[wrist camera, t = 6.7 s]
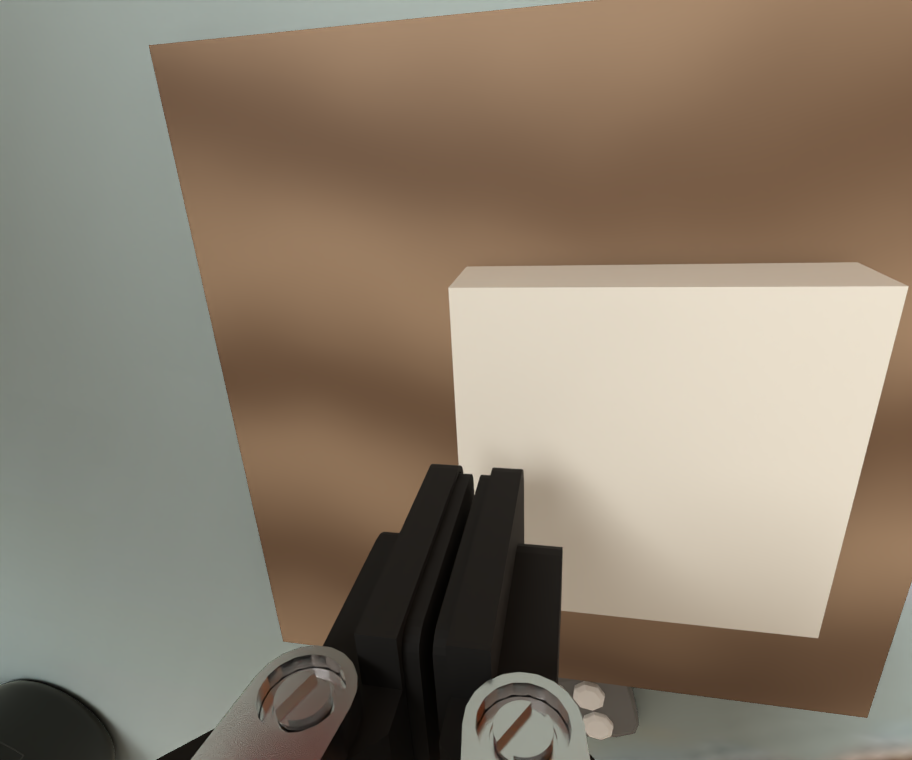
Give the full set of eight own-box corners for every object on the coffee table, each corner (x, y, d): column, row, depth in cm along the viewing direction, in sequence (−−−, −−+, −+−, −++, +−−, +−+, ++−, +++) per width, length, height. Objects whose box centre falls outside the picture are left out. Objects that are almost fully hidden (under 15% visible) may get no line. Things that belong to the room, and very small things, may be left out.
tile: (448, 287, 11) (908, 286, 10) (468, 264, 13) (851, 259, 12) (466, 600, 14) (818, 638, 13) (480, 541, 16) (785, 567, 15)
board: (181, 52, 14) (148, 45, 13) (1061, -33, 10) (1117, -52, 9) (298, 614, 21) (283, 641, 20) (849, 681, 17) (867, 717, 16)
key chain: (619, 630, 19) (622, 667, 18) (640, 710, 20) (644, 751, 19) (285, 654, 23) (267, 686, 21) (320, 720, 24) (305, 755, 23)
